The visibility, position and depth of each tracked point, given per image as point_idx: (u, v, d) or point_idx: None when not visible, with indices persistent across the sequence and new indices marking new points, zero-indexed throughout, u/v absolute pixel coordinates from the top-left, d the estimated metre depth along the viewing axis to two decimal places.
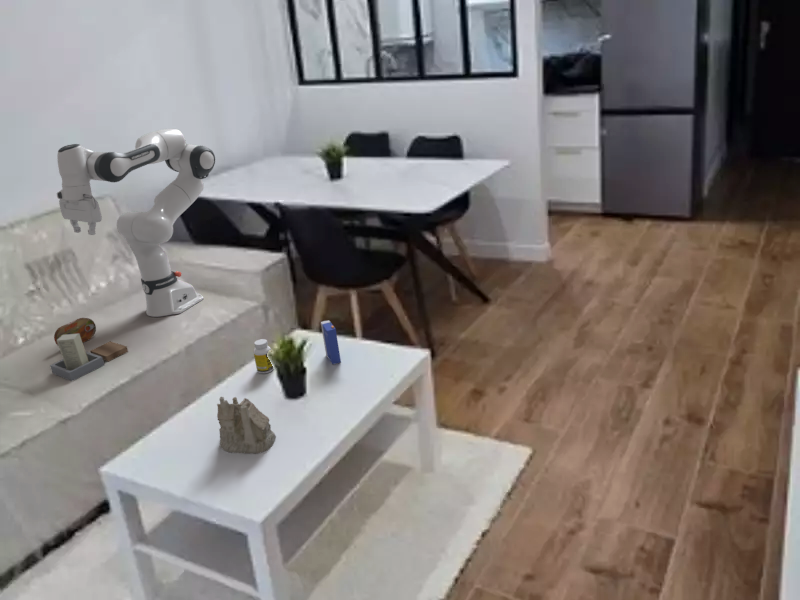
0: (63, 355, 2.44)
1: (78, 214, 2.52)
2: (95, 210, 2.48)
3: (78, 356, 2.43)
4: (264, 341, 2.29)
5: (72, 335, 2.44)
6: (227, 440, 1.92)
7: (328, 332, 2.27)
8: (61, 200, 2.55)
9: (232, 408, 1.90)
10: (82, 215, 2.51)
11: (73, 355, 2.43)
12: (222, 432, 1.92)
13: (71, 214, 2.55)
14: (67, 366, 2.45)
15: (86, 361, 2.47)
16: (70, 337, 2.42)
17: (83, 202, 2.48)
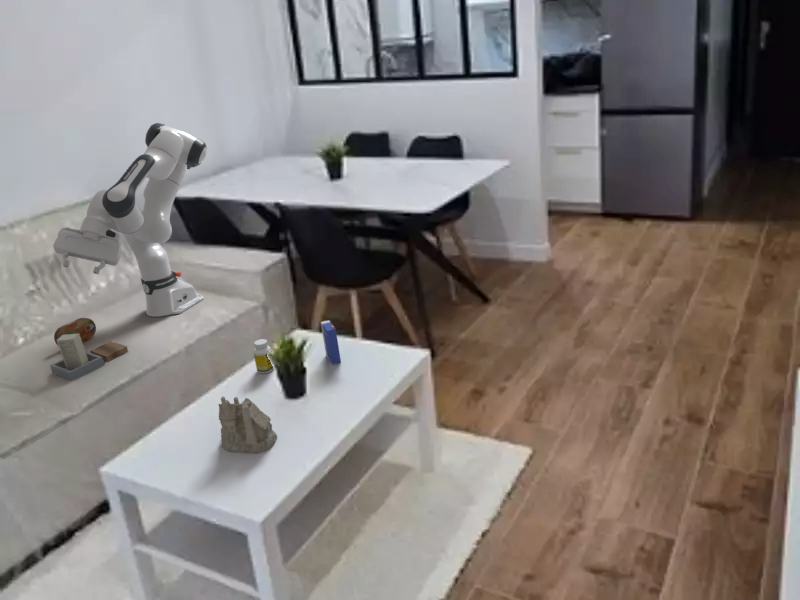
0: (63, 355, 2.44)
1: None
2: None
3: (78, 356, 2.43)
4: (264, 341, 2.29)
5: (72, 335, 2.44)
6: (228, 440, 1.92)
7: (328, 332, 2.27)
8: None
9: (234, 408, 1.90)
10: None
11: (73, 355, 2.43)
12: (223, 432, 1.92)
13: None
14: (67, 366, 2.45)
15: (86, 361, 2.47)
16: (69, 337, 2.42)
17: None
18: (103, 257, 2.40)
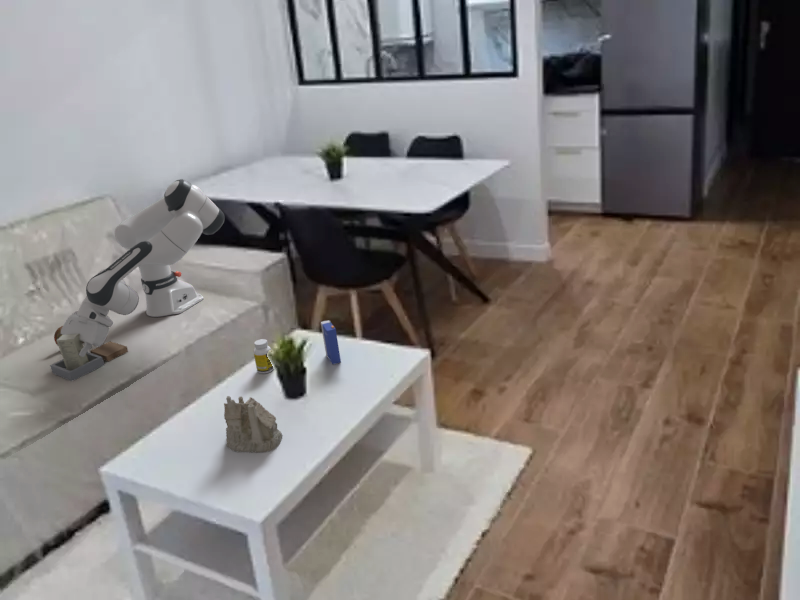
0: (63, 355, 2.44)
1: None
2: None
3: (78, 356, 2.43)
4: (264, 341, 2.29)
5: (72, 335, 2.44)
6: (234, 439, 1.92)
7: (328, 332, 2.27)
8: None
9: (239, 407, 1.90)
10: None
11: (73, 355, 2.43)
12: (229, 431, 1.92)
13: None
14: (67, 366, 2.45)
15: (86, 361, 2.47)
16: (69, 337, 2.42)
17: None
18: (85, 340, 2.42)
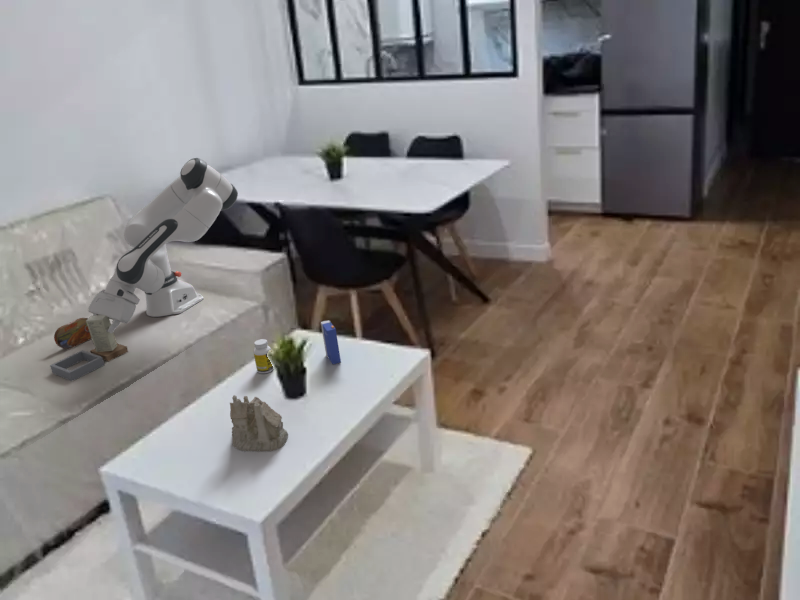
0: (92, 335, 2.51)
1: None
2: None
3: (107, 337, 2.51)
4: (264, 341, 2.29)
5: (101, 316, 2.51)
6: (240, 439, 1.92)
7: (328, 332, 2.27)
8: None
9: (245, 406, 1.90)
10: None
11: (102, 335, 2.51)
12: (235, 431, 1.92)
13: None
14: (96, 346, 2.53)
15: (114, 341, 2.55)
16: (98, 318, 2.50)
17: None
18: (113, 317, 2.49)
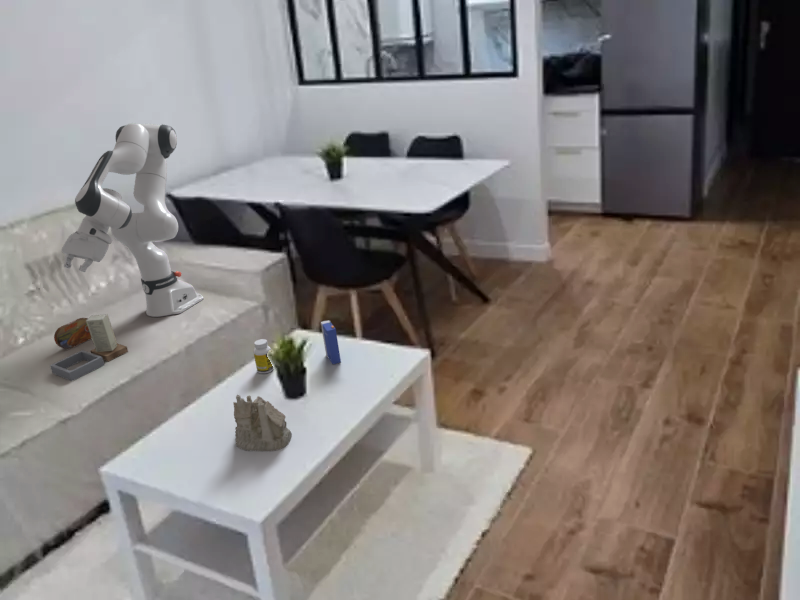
0: (92, 335, 2.51)
1: None
2: None
3: (107, 336, 2.51)
4: (264, 341, 2.29)
5: (101, 316, 2.51)
6: (243, 438, 1.92)
7: (328, 332, 2.27)
8: None
9: (249, 406, 1.90)
10: None
11: (102, 335, 2.51)
12: (238, 430, 1.92)
13: None
14: (96, 346, 2.53)
15: (114, 341, 2.55)
16: (98, 317, 2.50)
17: None
18: (85, 255, 2.48)
